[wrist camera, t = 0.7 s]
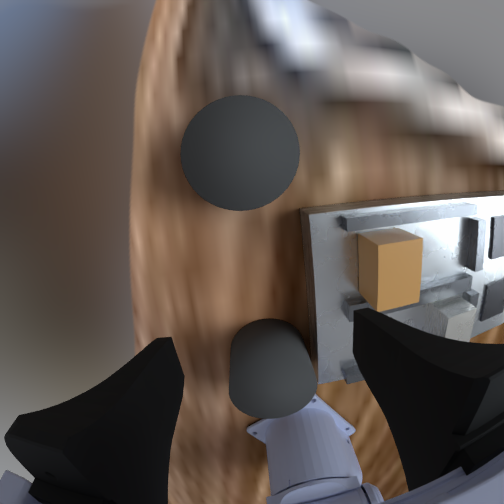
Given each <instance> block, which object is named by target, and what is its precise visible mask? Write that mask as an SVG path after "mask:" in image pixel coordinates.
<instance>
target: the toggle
mask: <svg viewBox="0 0 504 504" xmlns="http://www.w3.org/2000/svg"><path fill="white" fill-rule="evenodd" d="M422 252H423V238H421V237H419V236H417V235H414V234H412V233H410V232H407V231H405V230H402V229H400V228H393V229H385V230H378V231H371V232H363V233H358V255H359V293H360V294H361V295H362V296H363V297H364V298H365V299H366V301H367V302H368V303H369V304H370V305H371V306H372V307H373V308H374V309H375V310H376V311H378V312H381V311H385V310H389V309H393V308H397V307H402V306H406V305H409V304H413V303H417V302H419V297H420V286H421V272H422Z"/></svg>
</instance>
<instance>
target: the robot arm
mask: <svg viewBox="0 0 504 504" xmlns="http://www.w3.org/2000/svg"><path fill="white" fill-rule="evenodd" d="M352 352H353V355H354V358H355V360H356V363H357V365H358V368H359V370H360V372H361V374H362V376H363V378H364V379H365V381H366V383H367V385H368V386H369V388H370V390H371V392H372V393H373V395H374V397H375V399H376V400H377V402H378V404H379V406H380V407H381V409H382V411H383V413H384V415H385V417H386V419H387V422H388V424H389V427H390V430H391V432H392V435H393V437H394V440H395V443H396V446H397V449H398V452H399V455H400V459H401V462H402V465H403V469H404V472H405V476H406V481H407V485H408V489H409V492H407V493H405V494H402V495H400V496H397V497H394V498H392V499H389V500H386V501H384V500H383V498H382V495H381V493H380V491H379V490H378V488H377V487H376V486H374V485H371V484H370V483H364V484H362V485H361V483H362V471H361V469H360V466H359V463H358V460H357V457H356V455H355V452H354V449H353V447H352V444H351V441H350V438H349V436H350V435H351V434H353V433H354V432H355V428H354V427H353V426H352V425H351V424H349V423H348V422H347V421H346V420H345V419H344V418H342V417H341V416H340V415H339V414H338V413H337V412H335V411H334V410H333V409H332V408H331V407H330V406H328V405H327V404H326V403H325V402H324V401H323V400H322V399H321V398H319V397H318V396H317V395H316V394H315V395H314V397H313V398H312V399H314V400H311V401H310V402H309V403H308V404H307V405H306V406H305V407H304V408H302V409H301V410H299V411H298V412H296V413H294V414H291V415H289V416H286V417H282V418H275V419H262V420H260V421H258V422H256V423H254V424H253V425H251V426H249V427H247V432H248V433H249V434H251V435H252V436H254V437H255V438H257V439H258V440H260V441H262V442H263V443H265V444H266V449H267V459H268V470H269V480H270V490H271V496H269V497H266V500H267V504H504V344H481V343H471V342H465V341H459V340H453V339H449V338H445V337H441V336H437V335H434V334H431V333H428V332H425V331H422V330H419V329H417V328H414V327H412V326H409V325H407V324H404V323H402V322H400V321H398V320H395V319H393V318H391V317H389V316H387V315H384V314H382V313H380V312H378V311H376V310H373V309H371V308H368V307H367V308H363V309H358V310H353V349H352ZM183 388H184V374H183V371H182V368H181V365H180V362H179V359H178V356H177V353H176V350H175V347H174V344H173V340H172V337H164V338H157V339H155V340H154V341H152V342H151V343H150V344H149V345H148V346H146V347H145V348H144V349H143V350H142V351H141V352H139V353H138V354H137V355H136V356H135V357H134V358H133V359H131V360H130V361H129V362H128V363H127V364H125V365H124V366H123V367H122V368H120V369H119V370H118V371H116V372H115V373H114V374H112V375H111V376H110V377H108V378H107V379H106V380H104V381H103V382H101V383H100V384H98V385H97V386H95V387H93V388H91V389H90V390H88V391H86V392H84V393H82V394H80V395H78V396H76V397H74V398H72V399H70V400H68V401H65V402H63V403H61V404H58V405H55V406H52V407H50V408H47V409H43V410H40V411H35V412H31V413H27V414H22V415H19V416H18V417H17V418H16V420H15V421H14V423H13V424H12V426H11V427H10V428H9V430H8V432H7V433H6V434H5V437H4V438H5V442H6V445H7V447H8V448H9V450H10V451H11V453H12V454H13V455H14V456H15V457H16V459H17V460H18V461H19V462H20V463H21V464H22V465H23V466H24V467H25V468H26V469H27V470H28V471H29V472H30V473H31V474H32V475H33V476H34V477H35V479H34V481H33V483H31V482H29V481H28V480H26V479H25V478H23V477H20V476H18V475H16V474H14V473H12V472H10V471H8V470H6V471H5V473H4V474H3V476H2V478H1V480H0V504H168V472H169V459H170V449H171V443H172V438H173V434H174V430H175V426H176V422H177V418H178V414H179V410H180V406H181V402H182V397H183Z"/></svg>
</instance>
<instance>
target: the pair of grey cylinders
mask: <svg viewBox="0 0 504 504" xmlns="http://www.w3.org/2000/svg"><path fill="white" fill-rule="evenodd" d="M299 156H300V150H299V142H298V137H297V134H296V132H295V129H294V127H293V125H292V124H291V122H290V121H289V119H288V118H287V117H286V116H285V114H284V113H283V112H282V111H281V110H279V109H278V108H277V107H276V106H274V105H272V104H271V103H269V102H267V101H265V100H263V99H260V98H256V97H252V96H242V95H238V96H229V97H225V98H222V99H219V100H216V101H214V102H212V103H210V104H209V105H207V106H206V107H204V108H203V109H202V110H201V111H199V112H198V113H197V114H196V115H195V117H194V118H193V119H192V120H191V122H190V123H189V125H188V127H187V129H186V131H185V133H184V136H183V139H182V144H181V163H182V167H183V171H184V174H185V176H186V178H187V180H188V182H189V184H190V185H191V186H192V188H193V189H194V190H195V191H196V192H197V194H198V195H200V196H201V197H202V198H203V199H204V200H206V201H208V202H209V203H211V204H213V205H215V206H217V207H220V208H223V209H228V210H234V211H244V210H252V209H256V208H259V207H262V206H265V205H267V204H269V203H271V202H272V201H274V200H275V199H277V198H278V197H279V196H280V195H281V194H282V193H283V192H284V191H285V190H286V189H287V188H288V186H289V185H290V183H291V182H292V180H293V178H294V176H295V174H296V171H297V168H298V164H299ZM316 390H317V378H316V375H315V372H314V369H313V366H312V363H311V361H310V358H309V355H308V352H307V349H306V346H305V343H304V341H303V338H302V336H301V334H300V332H299V331H298V330H297V329H296V328H295V327H294V326H293V325H291V324H289V323H288V322H285V321H282V320H279V319H262V320H257V321H254V322H252V323H249V324H248V325H246V326H244V327H243V328H242V329H241V330H240V331H239V332H238V333H237V334H236V335H235V337H234V339H233V341H232V344H231V354H230V376H229V396H230V399H231V401H232V403H233V404H234V405H235V406H236V407H237V408H238V409H239V410H240V411H242V412H243V413H245V414H247V415H250V416H252V417H256V418H262V419H275V418H282V417H286V416H289V415H291V414H294V413H296V412H298V411H299V410H301V409H302V408H304V407H305V406H306V405H307V404H308V403H309V402H310V401H311V400H312V398H313V397H314V395H315V393H316Z"/></svg>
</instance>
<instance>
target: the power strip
mask: <svg viewBox="0 0 504 504" xmlns="http://www.w3.org/2000/svg"><path fill="white" fill-rule="evenodd" d="M299 211H300V220H301V230H302V240H303V251H304V262H305V274H306V287H307V301H308V317H309V334H310V355H311V363H312V366H313V369H314V372H315V375H316V378H317V382H318V384H323V383H328V382H332V381H337V380H341V379H345V382H346V384H350V383H354V382H358V381H362V380H365V379H364V378H363V376H362V374H361V372H360V370H359V368H358V365H357V363H356V360H355V358H354V355H353V352H352V349H353V310H358V309H363V308H367V307H368V308H371V309H373V310H375V309H374V308H373V307H372V306H371V305H370V304H369V303H368V302H367V301H366V299H365V298H364V297H363V296H362V295H361V294H360V293H359V255H358V233H363V232H371V231H378V230H385V229H393V228H400V229H402V230H405V231H407V232H410V233H412V234H414V235H417V236H419V237H421V238H423V252H422V272H421V286H420V297H419V302H417V303H413V304H409V305H406V306H402V307H397V308H393V309H389V310H385V311H381V312H380V313H382V314H384V315H387V316H389V317H391V318H393V319H395V320H398V321H400V322H402V323H404V324H407V325H409V326H412V327H414V328H417V329H419V330H422V331H425V332H428V333H431V334H434V335H437V336H441V337H445V338H449V339H453V340H459V341H465V342H469V341H470V338H471V337H474V336H476V335H478V334H481V333H483V332H485V331H487V330H489V329H492V328H494V327H496V326H498V325H500V324H502V323H504V191H484V192H466V193H451V194H437V195H424V196H412V197H400V198H390V199H379V200H369V201H359V202H350V203H341V204H332V205H323V206H315V207H307V208H299Z"/></svg>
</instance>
